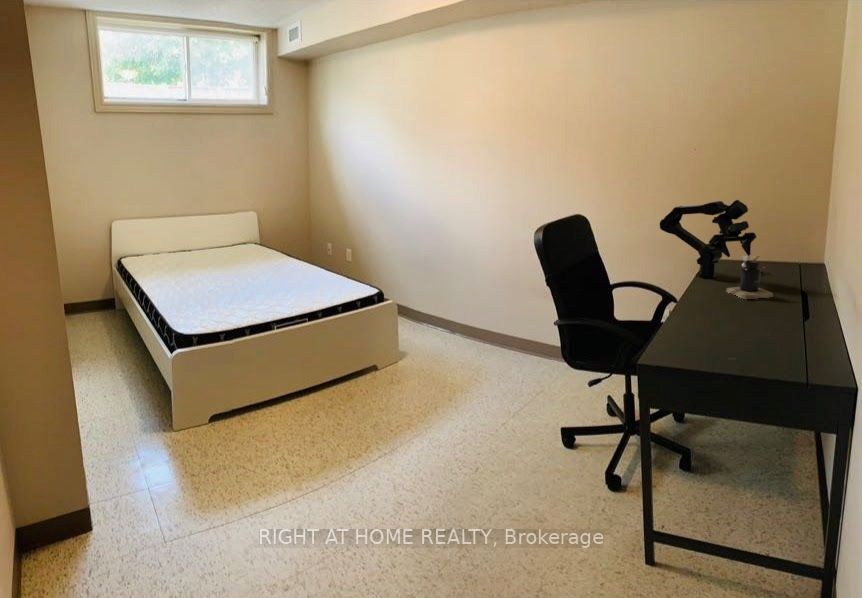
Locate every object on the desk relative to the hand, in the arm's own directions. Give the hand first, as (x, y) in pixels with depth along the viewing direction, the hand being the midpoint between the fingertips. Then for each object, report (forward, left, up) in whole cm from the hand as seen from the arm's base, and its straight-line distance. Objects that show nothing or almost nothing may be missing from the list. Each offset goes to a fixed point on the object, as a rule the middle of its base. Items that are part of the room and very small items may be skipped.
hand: (739, 255), depth 253 cm
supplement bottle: (+12, -3, -12) cm, 17 cm away
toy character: (-19, +22, -14) cm, 32 cm away
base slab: (+13, -3, -14) cm, 19 cm away
